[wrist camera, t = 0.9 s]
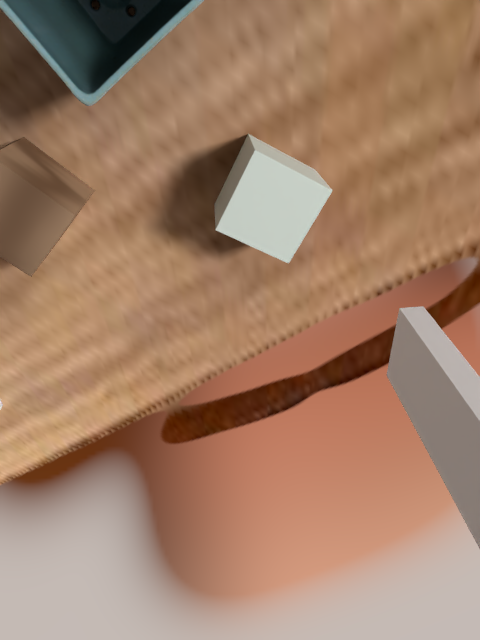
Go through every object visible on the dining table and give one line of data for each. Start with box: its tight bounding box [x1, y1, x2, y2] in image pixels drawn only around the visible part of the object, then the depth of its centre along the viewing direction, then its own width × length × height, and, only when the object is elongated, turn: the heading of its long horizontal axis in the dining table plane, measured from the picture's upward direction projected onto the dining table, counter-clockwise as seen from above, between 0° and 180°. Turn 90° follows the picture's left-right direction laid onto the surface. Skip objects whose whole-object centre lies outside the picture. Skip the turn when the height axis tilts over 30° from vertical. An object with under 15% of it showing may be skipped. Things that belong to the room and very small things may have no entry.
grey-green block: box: [215, 134, 332, 263], centre depth 34 cm, size 6×6×6 cm
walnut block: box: [0, 138, 94, 276], centre depth 33 cm, size 6×6×6 cm
